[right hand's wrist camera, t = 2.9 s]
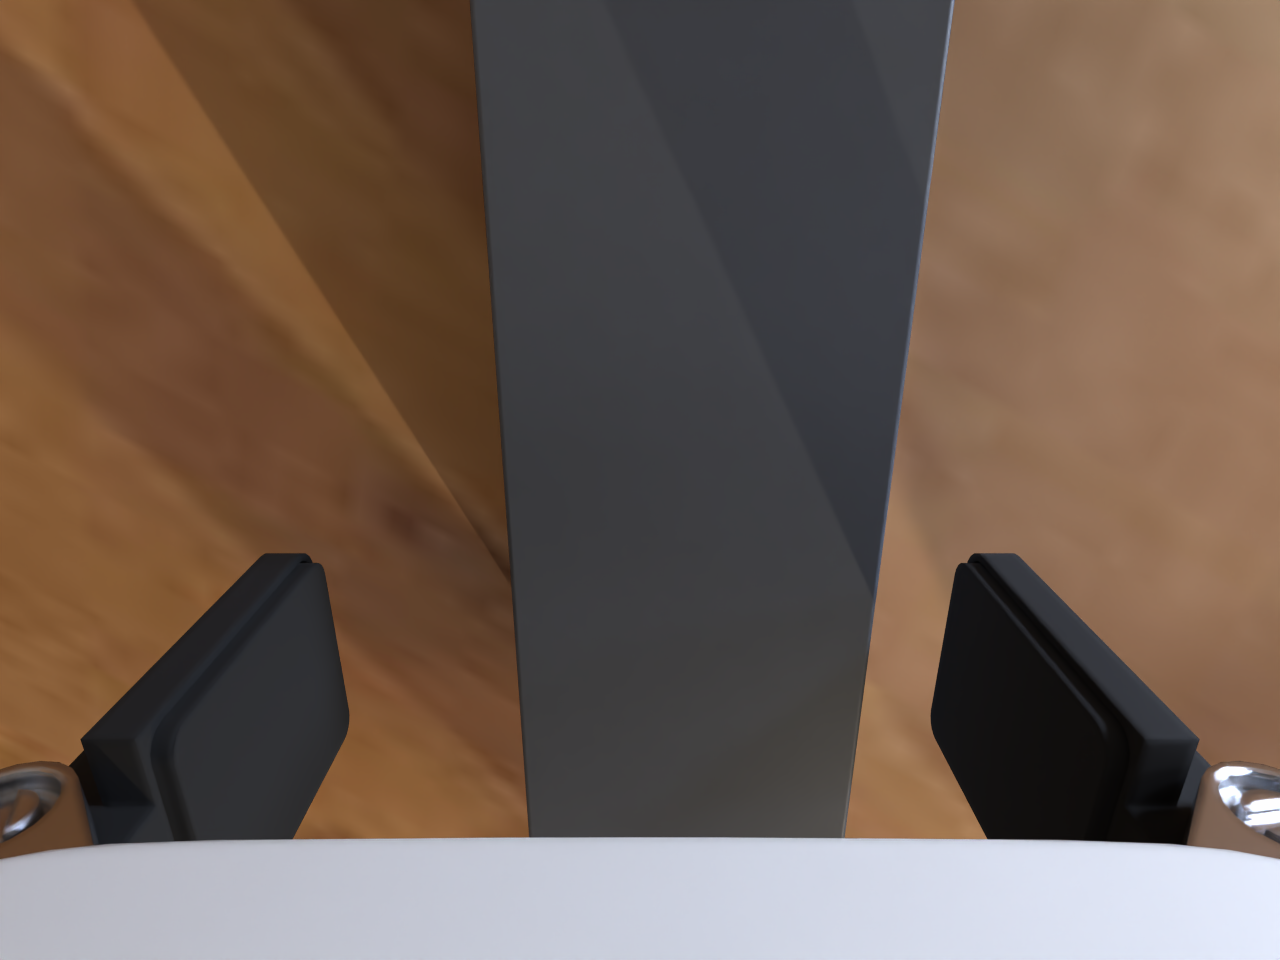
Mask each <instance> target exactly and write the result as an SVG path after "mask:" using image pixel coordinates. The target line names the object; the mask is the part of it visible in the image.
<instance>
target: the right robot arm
mask: <svg viewBox="0 0 1280 960" xmlns="http://www.w3.org/2000/svg"><path fill="white" fill-rule="evenodd" d="M348 726H349V708H348V702H347V697H346V691H345V685H344V679H343V674H342V668H341V662H340V657H339V651H338V645H337V640H336V634H335V628H334V622H333V617H332V611H331V605H330V600H329V594H328V588H327V583H326V577H325V572H324V569H323V567H322V565H321V564H319V563H312V560H311V558H310V557H309V556H308V555H307V554H306V553H269V554H264V555H262V556H261V557H260V558H259V559H258V560H257V561H256V562H255V563H254V564H253V565H252V566H251V567H250V568H249V569H248V570H247V571H246V572H245V573H244V574H243V575H242V576H241V577H240V578H239V579H238V580H237V581H236V582H235V583H234V584H233V585H232V586H231V587H230V588H229V589H228V590H227V591H226V592H225V593H224V594H223V595H222V596H221V597H220V598H219V599H218V600H217V601H216V602H215V604H214V605H213V606H212V607H211V608H210V609H209V610H208V611H207V612H206V613H205V614H204V615H203V616H202V617H201V618H200V619H199V620H198V621H197V622H196V623H195V624H194V625H193V626H192V627H191V628H190V629H189V630H188V631H187V632H186V633H185V634H184V635H183V636H182V637H181V638H180V639H179V640H178V641H177V642H176V643H175V644H174V645H173V646H172V647H171V648H170V649H169V650H168V651H167V652H166V653H165V654H164V655H163V656H162V657H161V658H160V659H159V660H158V661H157V662H156V663H155V664H154V665H153V666H152V667H151V668H150V669H149V670H148V671H147V672H146V674H145V675H144V676H143V677H142V678H141V679H140V680H139V681H138V682H137V683H136V684H135V685H134V686H133V687H132V688H131V689H130V690H129V691H128V692H127V693H126V694H125V695H124V696H123V697H122V698H121V699H120V700H119V701H118V702H117V703H116V704H115V705H114V706H113V707H112V708H111V709H110V710H109V711H108V712H107V713H106V714H105V715H104V716H103V717H102V718H101V719H100V720H99V721H98V722H97V723H96V724H95V725H94V726H93V727H92V728H91V729H90V730H89V731H88V732H87V733H86V734H85V735H84V736H83V737H82V738H81V742H82V745H83V748H84V751H83V752H82V753H81V754H80V755H79V756H78V757H77V758H76V759H75V760H74V761H73V762H72V763H71V764H70V765H69V766H67V765H64V764H62V763H60V762H47V761H37V762H30V763H23V764H16V765H13V766H10V767H6V768H3V769H0V960H1280V769H1277V768H1274V767H1270V766H1267V765H1264V764H1257V763H1250V762H1243V761H1233V762H1220V763H1218V764H1216V765H1213V766H1211V765H1210V764H1209V763H1208V762H1207V761H1206V760H1205V759H1204V758H1203V757H1202V756H1201V755H1200V754H1199V753H1198V752H1197V751H1196V748H1197V745H1198V742H1199V738H1198V737H1197V736H1196V735H1195V734H1194V733H1193V732H1192V731H1191V730H1190V729H1189V728H1188V727H1187V726H1186V725H1185V724H1184V723H1183V722H1182V721H1181V720H1180V719H1179V718H1178V717H1177V716H1176V715H1175V714H1174V713H1173V712H1172V711H1171V710H1170V709H1169V708H1168V707H1167V706H1166V705H1165V704H1164V703H1163V702H1162V701H1161V700H1160V699H1159V698H1158V697H1157V696H1156V695H1155V694H1154V693H1153V692H1152V691H1151V690H1150V689H1149V688H1148V687H1147V686H1146V685H1145V684H1144V683H1143V682H1142V681H1141V680H1140V679H1139V678H1138V677H1137V676H1136V675H1135V674H1134V672H1133V671H1132V670H1131V669H1130V668H1129V667H1128V666H1127V665H1126V664H1125V663H1124V662H1123V661H1122V660H1121V659H1120V658H1119V657H1118V656H1117V655H1116V654H1115V653H1114V652H1113V651H1112V650H1111V649H1110V648H1109V647H1108V646H1107V645H1106V644H1105V643H1104V642H1103V641H1102V640H1101V639H1100V638H1099V637H1098V636H1097V635H1096V634H1095V633H1094V632H1093V631H1092V630H1091V629H1090V628H1089V627H1088V626H1087V625H1086V624H1085V623H1084V622H1083V621H1082V620H1081V619H1080V618H1079V617H1078V616H1077V615H1076V614H1075V613H1074V612H1073V611H1072V610H1071V609H1070V608H1069V607H1068V606H1067V605H1066V604H1065V603H1064V601H1063V600H1062V599H1061V598H1060V597H1059V596H1058V595H1057V594H1056V593H1055V592H1054V591H1053V590H1052V589H1051V588H1050V587H1049V586H1048V585H1047V584H1046V583H1045V582H1044V581H1043V580H1042V579H1041V578H1040V577H1039V576H1038V575H1037V574H1036V573H1035V572H1034V571H1033V570H1032V569H1031V568H1030V567H1029V566H1028V565H1027V564H1026V563H1025V562H1024V561H1023V560H1022V559H1021V558H1020V557H1019V556H1018V555H1016V554H1011V553H974V554H973V555H972V556H971V557H970V558H969V560H968V563H961V564H959V565H958V567H957V569H956V572H955V577H954V583H953V588H952V594H951V600H950V605H949V611H948V617H947V622H946V628H945V634H944V640H943V645H942V651H941V657H940V662H939V668H938V674H937V679H936V685H935V691H934V697H933V702H932V708H931V726H932V731H933V734H934V737H935V739H936V741H937V743H938V745H939V747H940V749H941V751H942V753H943V755H944V757H945V758H946V760H947V762H948V764H949V766H950V768H951V770H952V772H953V774H954V776H955V778H956V780H957V781H958V783H959V785H960V787H961V789H962V791H963V793H964V795H965V797H966V799H967V801H968V803H969V805H970V806H971V808H972V810H973V812H974V814H975V816H976V818H977V820H978V822H979V824H980V826H981V828H982V829H983V831H984V833H985V835H986V837H987V839H881V838H727V837H589V838H401V839H293V837H294V835H295V833H296V831H297V829H298V828H299V826H300V824H301V822H302V820H303V818H304V816H305V814H306V812H307V810H308V808H309V806H310V805H311V803H312V801H313V799H314V797H315V795H316V793H317V791H318V789H319V787H320V785H321V783H322V781H323V780H324V778H325V776H326V774H327V772H328V770H329V768H330V766H331V764H332V762H333V760H334V758H335V757H336V755H337V753H338V751H339V749H340V747H341V745H342V743H343V741H344V739H345V737H346V734H347V731H348Z"/></svg>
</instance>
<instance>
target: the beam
mask: <svg viewBox="0 0 1280 960" xmlns="http://www.w3.org/2000/svg"><path fill="white" fill-rule="evenodd" d="M954 1H955V0H470V11H471V25H472V39H473V53H474V67H475V81H476V95H477V109H478V123H479V137H480V151H481V165H482V179H483V194H484V208H485V222H486V236H487V250H488V264H489V278H490V292H491V306H492V320H493V334H494V348H495V362H496V376H497V390H498V405H499V419H500V433H501V447H502V461H503V475H504V489H505V503H506V517H507V531H508V545H509V559H510V573H511V587H512V602H513V616H514V630H515V644H516V658H517V672H518V686H519V700H520V714H521V728H522V742H523V756H524V770H525V784H526V798H527V813H528V827H529V838H589V837H727V838H844V837H845V830H846V822H847V815H848V807H849V799H850V792H851V784H852V777H853V769H854V761H855V754H856V746H857V738H858V731H859V723H860V716H861V708H862V700H863V693H864V685H865V678H866V670H867V662H868V655H869V647H870V640H871V632H872V624H873V617H874V609H875V602H876V594H877V586H878V579H879V571H880V564H881V556H882V548H883V541H884V533H885V526H886V518H887V510H888V503H889V495H890V488H891V480H892V472H893V465H894V457H895V450H896V442H897V434H898V427H899V419H900V412H901V404H902V396H903V389H904V381H905V373H906V366H907V358H908V351H909V343H910V335H911V328H912V320H913V313H914V305H915V297H916V290H917V282H918V275H919V267H920V259H921V252H922V244H923V237H924V229H925V221H926V214H927V206H928V199H929V191H930V183H931V176H932V168H933V161H934V153H935V145H936V138H937V130H938V123H939V115H940V107H941V100H942V92H943V85H944V77H945V69H946V62H947V54H948V47H949V39H950V31H951V24H952V16H953V8H954Z"/></svg>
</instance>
